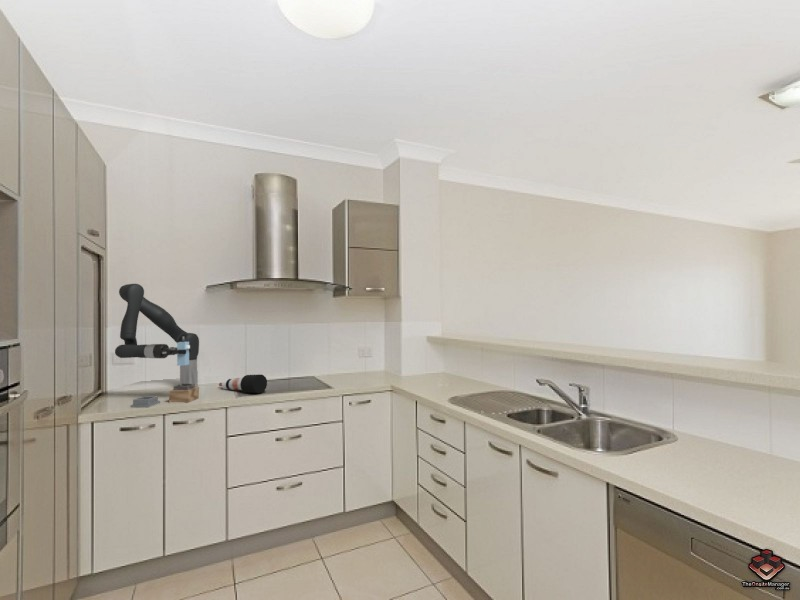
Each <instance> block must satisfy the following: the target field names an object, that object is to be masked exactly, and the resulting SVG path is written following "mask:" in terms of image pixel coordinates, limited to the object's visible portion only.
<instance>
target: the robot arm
mask: <svg viewBox="0 0 800 600" xmlns="http://www.w3.org/2000/svg"><path fill="white" fill-rule="evenodd" d="M118 294H119V296H120V298H121V299H122V300H124V301H125V302H126V303H127V306H126V311H125V314H124V316H123V318H122V321H121V325H120V332H119V333H120V334H119V338H120V339H121V340H122V341H123V342H124V344H123V343H122V344H119V345H118V346H116V347H115V349H114V354H115V356H116V357H118V358H120V359H129V358H130V359H132V358H138V359H139V358H140V359H143V358H144V359H166V358H167V357H168V356H175V355H178V354H186V350H179V349H177V346H176V347H174V346H170V347H169V345H168V344H166V343H152V344H151V343H149V344H138V342H137V341H138V339H137V337H136V336H137V327H138V320H139V316H140V315H139V314H140V313H141V314H142V315H144V317H146V318H147V319H148V320H149V321H150V322H152V323H153V324H154V325H156V327H158V328H159V329H160V330H162V331H163V332H164V333H166V334H167V335H168V336H169V337H170V338H171V339H173V341H174V342H175V343H176V344H177V342H182V336H185V342H189V345H190V348H189V365H185V366H182V365H179V384H195V387H199V386H198V383H199V382H198V381H199V379H198V377H199V376H198V372H199V371H198V356H199V351H200V338H199V336H198V335H197V334H196V333H193V332H187V331H185V330H183V328H181V327H180V326H179V325H178V323H177V321H176V320H175V318H174V317H173V316H172V314H170V313H169V312H168V311H167V310H166V309H164V308H163V307H161V306H160V305H158V304H156V303H154V302H152V301H150V300H149V299H147V298H146V297H145V289H144V287H143V286H142V285H141V284H139V283H128V284H124V285H122V286H120V288H119V290H118Z"/></svg>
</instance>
